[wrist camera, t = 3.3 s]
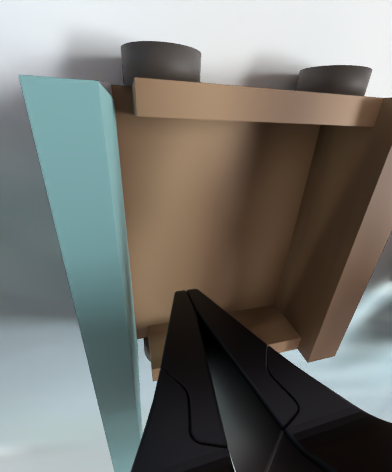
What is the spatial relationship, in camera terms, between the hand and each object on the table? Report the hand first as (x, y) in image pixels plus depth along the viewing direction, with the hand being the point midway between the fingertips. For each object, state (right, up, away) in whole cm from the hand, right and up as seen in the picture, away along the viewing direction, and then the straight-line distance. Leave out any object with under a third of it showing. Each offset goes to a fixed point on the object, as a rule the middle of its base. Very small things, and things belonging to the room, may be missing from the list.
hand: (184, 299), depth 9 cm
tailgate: (-3, +2, +3) cm, 5 cm away
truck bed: (+2, +3, +6) cm, 7 cm away
